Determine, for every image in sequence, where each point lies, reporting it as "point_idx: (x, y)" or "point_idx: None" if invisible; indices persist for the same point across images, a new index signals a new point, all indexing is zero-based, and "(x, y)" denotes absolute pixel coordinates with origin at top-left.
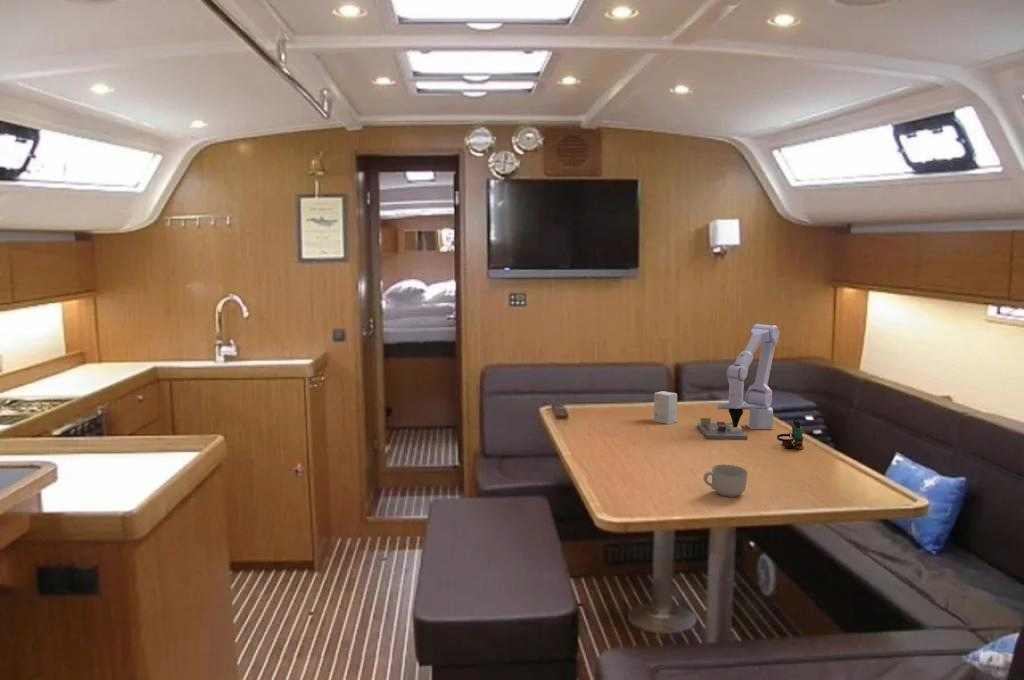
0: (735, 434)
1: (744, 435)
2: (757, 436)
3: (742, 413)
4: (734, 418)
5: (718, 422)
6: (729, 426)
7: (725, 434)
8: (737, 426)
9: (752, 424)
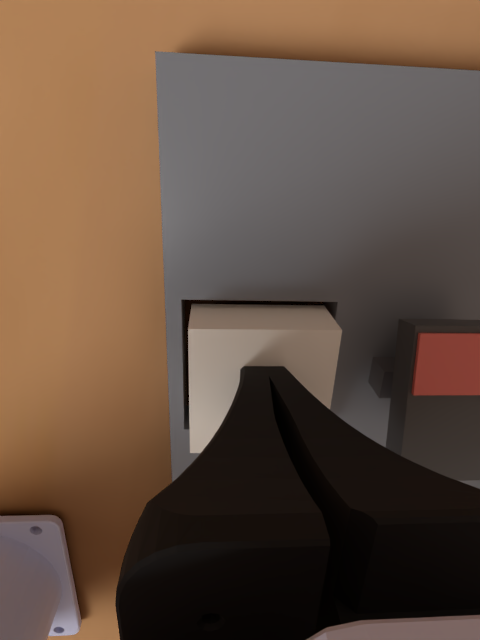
0: (315, 152)
1: (196, 85)
2: (6, 250)
3: (159, 497)
4: (326, 429)
5: (477, 462)
6: (330, 405)
7: (456, 148)
8: (227, 406)
9: (22, 576)
